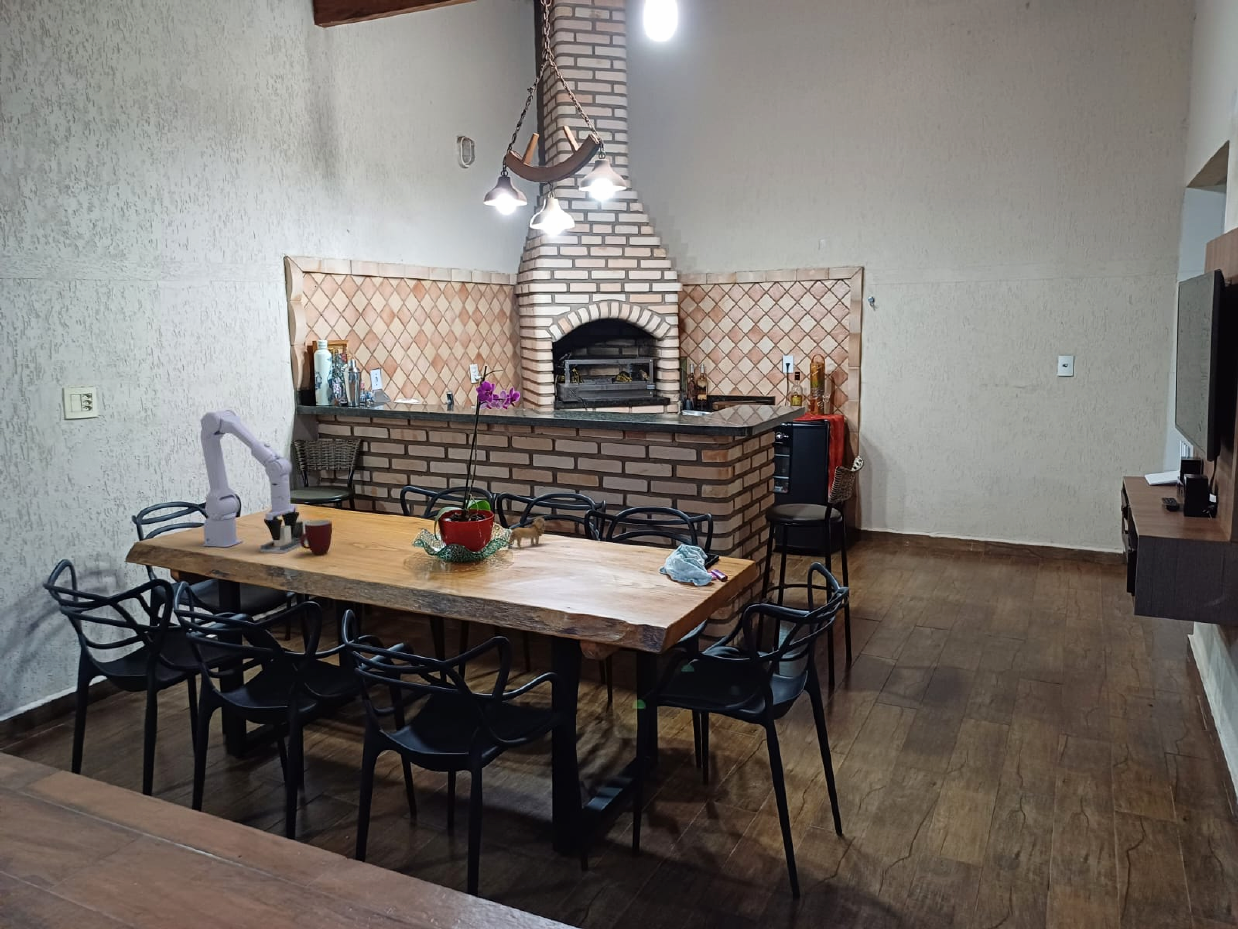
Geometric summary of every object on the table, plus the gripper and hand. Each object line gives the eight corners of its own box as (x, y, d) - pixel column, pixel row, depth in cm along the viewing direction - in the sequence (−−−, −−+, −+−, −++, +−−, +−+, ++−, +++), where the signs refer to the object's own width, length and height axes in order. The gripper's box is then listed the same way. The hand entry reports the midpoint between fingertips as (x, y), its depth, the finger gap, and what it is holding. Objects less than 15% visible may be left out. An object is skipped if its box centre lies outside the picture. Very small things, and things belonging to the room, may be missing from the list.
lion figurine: (540, 541, 293) (539, 515, 292) (549, 544, 289) (549, 518, 288) (502, 549, 283) (502, 521, 282) (512, 552, 279) (511, 524, 278)
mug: (313, 560, 270) (311, 528, 269) (294, 557, 274) (292, 525, 273) (338, 552, 280) (337, 521, 278) (320, 549, 283) (318, 519, 282)
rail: (261, 552, 280) (259, 530, 279) (295, 538, 298) (293, 518, 297) (283, 553, 278) (282, 532, 277) (316, 539, 297) (315, 519, 295)
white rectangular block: (274, 546, 283) (273, 527, 283) (281, 543, 287) (280, 525, 286) (285, 546, 283) (284, 528, 282) (292, 543, 286) (291, 525, 286)
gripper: (278, 500, 275) (281, 543, 277) (304, 492, 289) (306, 532, 291) (258, 499, 276) (261, 542, 278) (285, 491, 290) (287, 531, 292)
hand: (283, 537), depth 285 cm, fingers open, 7 cm apart
